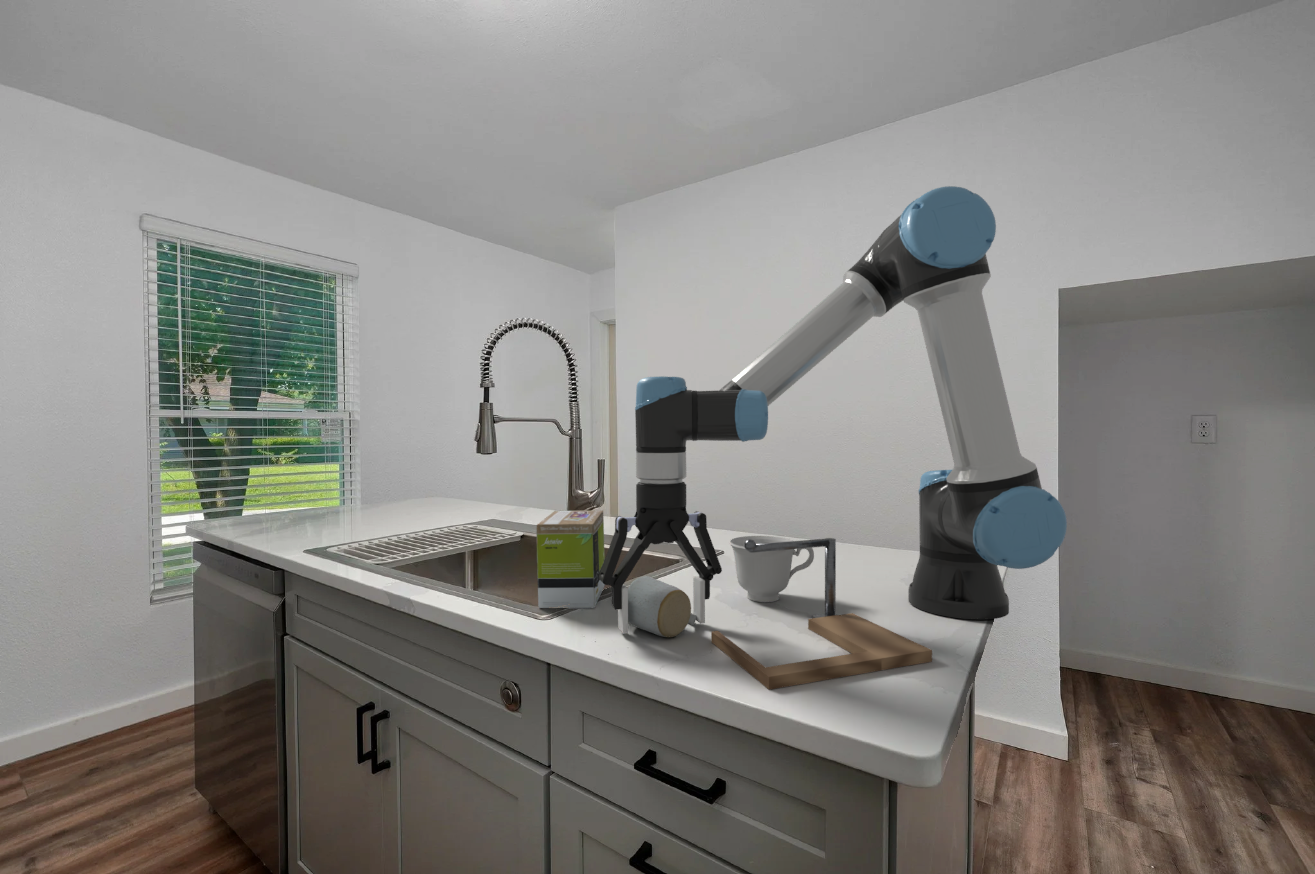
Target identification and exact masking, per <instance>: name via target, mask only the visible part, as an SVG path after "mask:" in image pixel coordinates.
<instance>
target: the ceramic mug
mask: <svg viewBox="0 0 1315 874" xmlns="http://www.w3.org/2000/svg"><path fill="white" fill-rule="evenodd" d="M627 588H628V625H631V626H632V627H635V628H637V629H640V630H643V631H645V632H648V633H652V634H655V635H657V636H659V637H662V638H663V637H664V638H673V637H676V636H678V635H680V634H682V632H683V631H684V630H685V628H686V627H687V625H691V626H693V625H695V622H696V615H695V614H693V613H692V605H691V604H692V603H691V599H690V597H689V595H688V594H687V593H686V592H684V590H682V589H681V588H678V587H677V586H674V585H671V584H669V583H666V582H664V581H661V580H659V579H656V578H654V577H651V576H648V575H643V576H639V577H637V578H636V579H634V580H633V581H632V582H631V583H630V584H629V585H628V587H627Z"/></svg>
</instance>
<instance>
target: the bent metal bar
mask: <svg viewBox="0 0 1315 874" xmlns="http://www.w3.org/2000/svg"><path fill="white" fill-rule="evenodd" d="M836 542H837V541H836V538H835V537H826V538H818V539H804V540H801V539H800V540H793V541H789V542H776V543H763V544H756V542H755V541H754V540H752V539H748V540H746V541H745V543H744V548H745V549H746V550H747V551H749V552H750V553H754V552H766V551H778V550H790V549H794V550H797V549H802V548H823V547H824V613H822V614H814V615H811V619H812V618H819V617H827V616H835V615H837V614H836V611H837V609H836V606H837V604H836V603H837V602H836V601H837V600H836V599H837V598H836V596H837V595H836V594H837V593H836V584H837V581H836V578H837V577H836V575H837V574H836V571H837V570H836V567H837V566H836V565H837V563H836V561H837V560H836V555H837V552H836V551H837V544H836ZM802 550H803V549H802Z"/></svg>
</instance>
